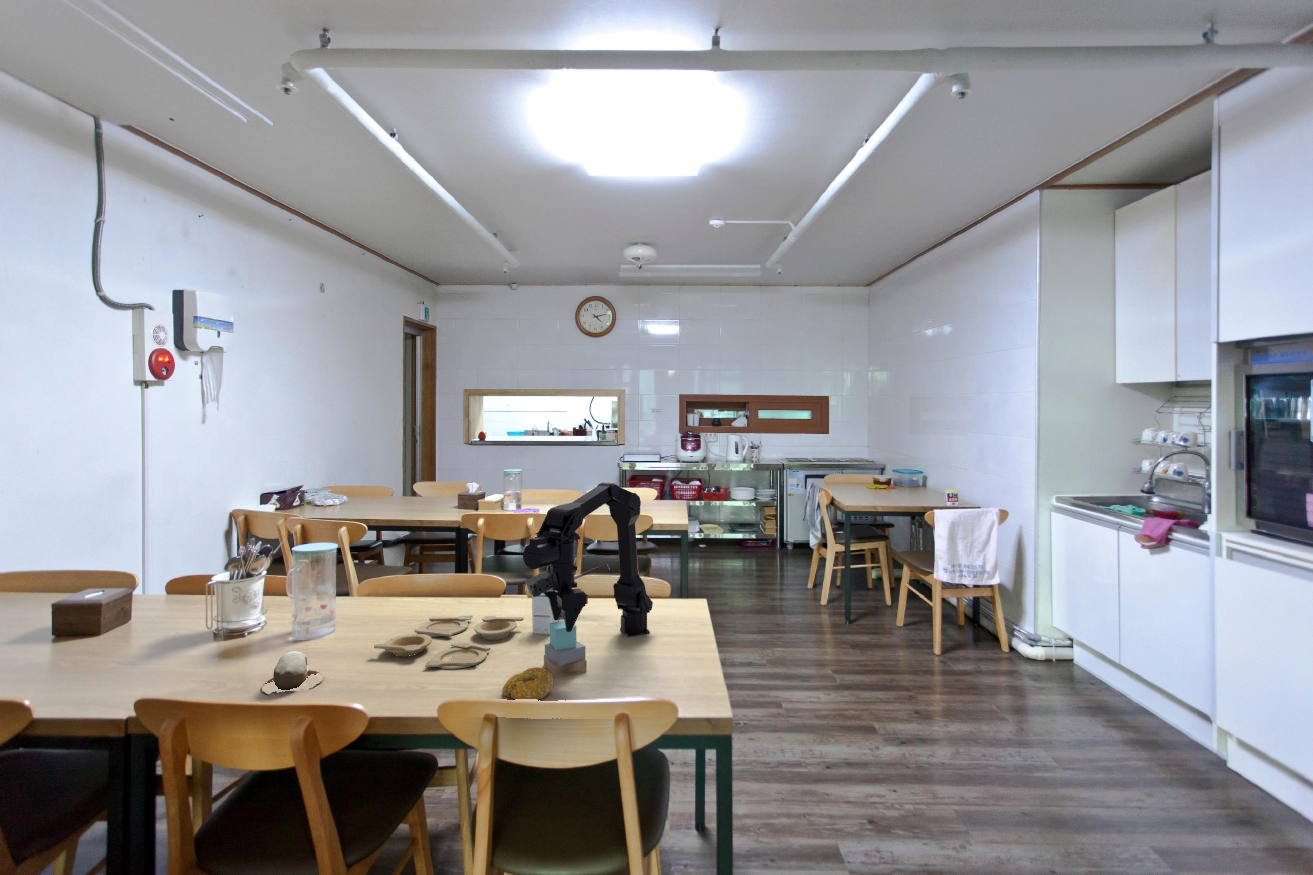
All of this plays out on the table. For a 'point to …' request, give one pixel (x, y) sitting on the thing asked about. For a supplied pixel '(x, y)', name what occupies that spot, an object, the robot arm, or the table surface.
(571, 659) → the grey square block
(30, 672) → the table surface
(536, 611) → the syrup box
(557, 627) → the teal cube
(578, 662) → the walnut slab
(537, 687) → the bagel
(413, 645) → the tableware set
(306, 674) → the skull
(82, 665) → the table surface
